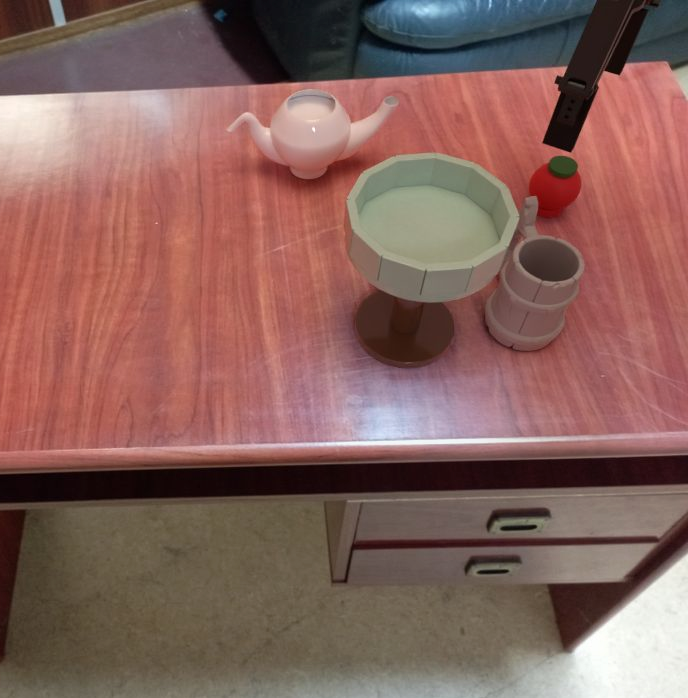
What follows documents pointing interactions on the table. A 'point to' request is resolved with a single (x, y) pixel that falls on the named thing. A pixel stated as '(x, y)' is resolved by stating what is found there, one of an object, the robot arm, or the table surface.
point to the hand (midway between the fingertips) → (583, 106)
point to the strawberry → (555, 185)
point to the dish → (423, 249)
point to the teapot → (313, 131)
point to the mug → (533, 286)
